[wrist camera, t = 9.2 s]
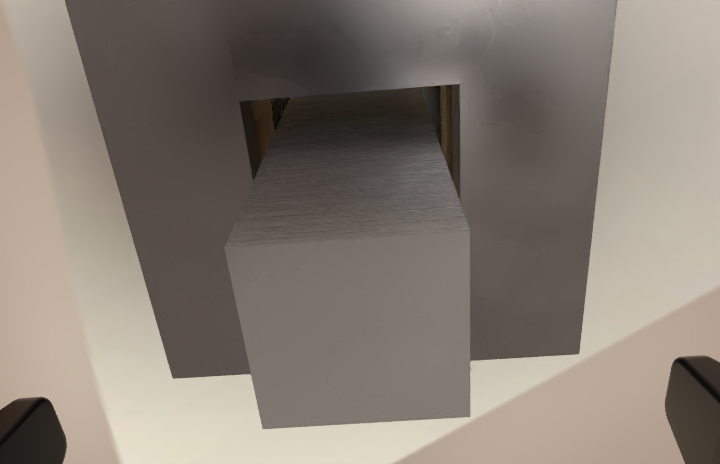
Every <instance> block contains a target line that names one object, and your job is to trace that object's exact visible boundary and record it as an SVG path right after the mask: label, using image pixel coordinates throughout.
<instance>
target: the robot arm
mask: <svg viewBox="0 0 720 464" xmlns="http://www.w3.org/2000/svg"><path fill="white" fill-rule="evenodd" d="M665 411H666V416H667V419H668V422H669V424H670V426H671V429H672V432H673V434H674V437H675V439H676V442H677V444H678V447H679V449H680V452H681V454H682V457H683V459H684V462H685V464H720V362H718V361H716V360H714V359H712V358H710V357H708V356H686V357H679V358H677V359H675V361H674V362H673V364H672V367H671V373H670V378H669V383H668V388H667V393H666V398H665ZM66 448H67V442H66V437H65V434H64V432H63V429H62V427H61V424H60V422H59V420H58V417H57V415H56V412H55V410H54V408H53V405H52V403H51V402H50V401H49V400H48V399H47V398H44V397H34V398H21V399H17V400H15V401H13V402H11V403H10V404H8V405H7V406H5V407H4V408H2V409H1V410H0V464H63V461H64V458H65V454H66Z"/></svg>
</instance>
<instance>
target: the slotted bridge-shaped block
mask: <svg viewBox="0 0 720 464" xmlns="http://www.w3.org/2000/svg"><path fill="white" fill-rule="evenodd" d="M65 3H66V6H67V10H68V13H69V17H70V20H71V24H72V27H73V31H74V34H75V38H76V41H77V45H78V48H79V52H80V55H81V59H82V62H83V66H84V69H85V73H86V76H87V80H88V83H89V87H90V90H91V94H92V97H93V101H94V104H95V108H96V111H97V115H98V118H99V122H100V125H101V129H102V132H103V136H104V139H105V143H106V146H107V150H108V153H109V157H110V160H111V164H112V167H113V171H114V174H115V178H116V181H117V185H118V188H119V192H120V195H121V199H122V202H123V206H124V209H125V213H126V216H127V220H128V223H129V227H130V230H131V234H132V237H133V241H134V244H135V248H136V251H137V255H138V258H139V262H140V265H141V269H142V272H143V276H144V279H145V283H146V286H147V290H148V293H149V297H150V300H151V304H152V307H153V311H154V314H155V318H156V321H157V325H158V328H159V332H160V335H161V339H162V342H163V346H164V349H165V353H166V356H167V360H168V363H169V367H170V370H171V374H172V377H173V379H174V378H190V377H207V376H223V375H240V374H251V371H250V366H249V362H248V357H247V352H246V348H245V343H244V338H243V334H242V329H241V324H240V320H239V315H238V310H237V305H236V301H235V296H234V291H233V287H232V282H231V277H230V273H229V268H228V263H227V259H226V254H225V249H224V248H225V245H226V243H227V241H228V239H229V236H230V234H231V232H232V229H233V227H234V225H235V222H236V220H237V218H238V216H239V213H240V211H241V209H242V206H243V204H244V202H245V200H246V197H247V195H248V193H249V190H250V188H251V186H252V183H253V181H254V179H255V177H256V174H257V172H258V170H259V167H260V165H261V163H262V160H263V158H264V156H265V154H266V151H267V149H268V147H269V144H270V142H271V140H272V138H273V135H274V133H275V128H274V122H273V115H272V108H271V102H270V99H275V98H288V97H300V96H313V95H326V94H338V93H351V92H364V91H376V90H389V89H401V88H414V87H427V86H439V85H440V105H441V150H442V152H443V155H444V158H445V161H446V164H447V167H448V169H449V172H450V175H451V178H452V181H453V184H454V186H455V189H456V192H457V195H458V198H459V201H460V204H461V206H462V209H463V212H464V215H465V218H466V221H467V223H468V226H469V229H470V361H472V360H489V359H506V358H522V357H539V356H556V355H572V354H579V350H580V340H581V331H582V322H583V313H584V303H585V294H586V285H587V276H588V266H589V257H590V248H591V238H592V229H593V220H594V211H595V201H596V192H597V183H598V173H599V164H600V155H601V146H602V136H603V127H604V118H605V109H606V99H607V90H608V81H609V71H610V62H611V53H612V44H613V34H614V25H615V16H616V6H617V0H65Z"/></svg>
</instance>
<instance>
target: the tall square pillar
mask: <svg viewBox="0 0 720 464" xmlns="http://www.w3.org/2000/svg"><path fill="white" fill-rule="evenodd" d="M224 249H225V254H226V259H227V263H228V268H229V273H230V277H231V282H232V287H233V291H234V296H235V301H236V305H237V310H238V315H239V320H240V324H241V329H242V334H243V338H244V343H245V348H246V352H247V357H248V362H249V366H250V371H251V376H252V381H253V385H254V390H255V395H256V399H257V404H258V409H259V413H260V418H261V423H262V427H263V429H272V428H289V427H306V426H323V425H340V424H357V423H374V422H391V421H408V420H425V419H442V418H458V417H470V229H469V226H468V223H467V221H466V218H465V215H464V212H463V209H462V206H461V204H460V201H459V198H458V195H457V192H456V189H455V186H454V184H453V181H452V178H451V175H450V172H449V169H448V167H447V164H446V161H445V158H444V155H443V152H442V150H441V147H440V144H439V141H438V138H437V135H436V132H435V130H434V127H433V124H432V121H431V118H430V115H429V113H428V110H427V107H426V104H425V101H424V98H423V95H422V93H421V90H420V87H414V88H401V89H389V90H376V91H364V92H351V93H338V94H326V95H313V96H300V97H290V99H289V101H288V103H287V105H286V108H285V110H284V112H283V115H282V117H281V119H280V121H279V124H278V126H277V128H276V131H275V133H274V135H273V138H272V140H271V142H270V144H269V147H268V149H267V151H266V154H265V156H264V158H263V160H262V163H261V165H260V167H259V170H258V172H257V174H256V177H255V179H254V181H253V183H252V186H251V188H250V190H249V193H248V195H247V197H246V200H245V202H244V204H243V206H242V209H241V211H240V213H239V216H238V218H237V220H236V222H235V225H234V227H233V229H232V232H231V234H230V236H229V239H228V241H227V243H226V245H225V248H224Z"/></svg>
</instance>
